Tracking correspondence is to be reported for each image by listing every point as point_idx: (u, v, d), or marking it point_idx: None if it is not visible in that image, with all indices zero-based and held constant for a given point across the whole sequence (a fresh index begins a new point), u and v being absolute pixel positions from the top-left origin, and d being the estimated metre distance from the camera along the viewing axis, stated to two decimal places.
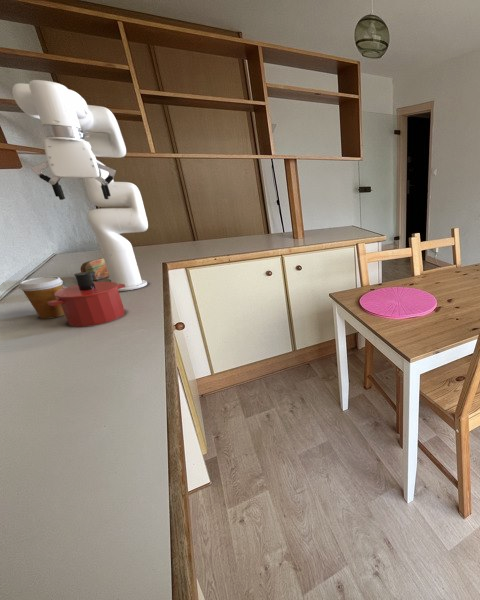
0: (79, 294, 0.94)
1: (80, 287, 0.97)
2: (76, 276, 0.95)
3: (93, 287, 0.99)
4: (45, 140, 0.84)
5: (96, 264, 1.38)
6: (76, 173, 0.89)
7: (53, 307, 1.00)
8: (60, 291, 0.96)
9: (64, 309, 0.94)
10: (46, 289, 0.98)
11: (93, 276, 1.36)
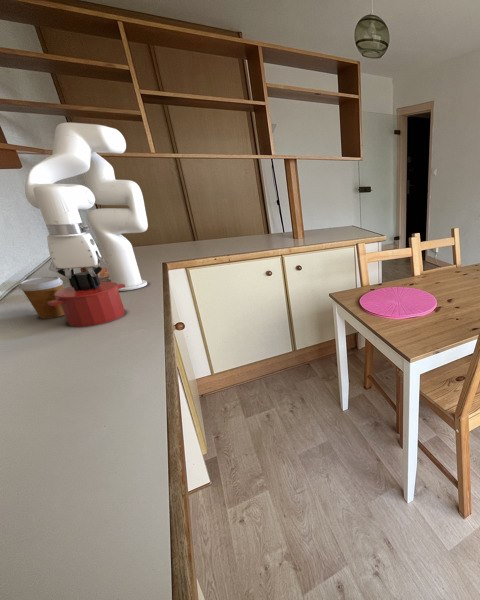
0: (79, 294, 0.94)
1: (80, 287, 0.97)
2: (76, 276, 0.95)
3: None
4: (48, 238, 0.89)
5: None
6: (76, 264, 0.94)
7: (53, 307, 1.00)
8: (60, 291, 0.96)
9: (64, 309, 0.94)
10: (46, 289, 0.98)
11: None
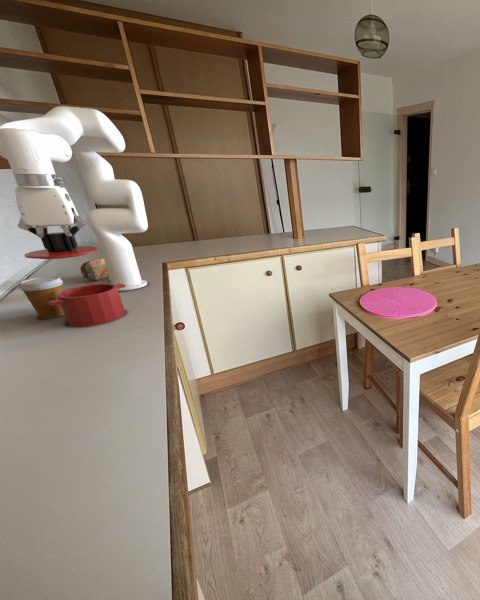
0: (52, 255, 0.84)
1: (54, 248, 0.87)
2: (49, 235, 0.85)
3: None
4: (16, 189, 0.80)
5: (96, 264, 1.38)
6: (48, 222, 0.84)
7: (53, 307, 1.00)
8: (31, 252, 0.86)
9: (64, 309, 0.94)
10: (46, 289, 0.98)
11: (93, 276, 1.36)
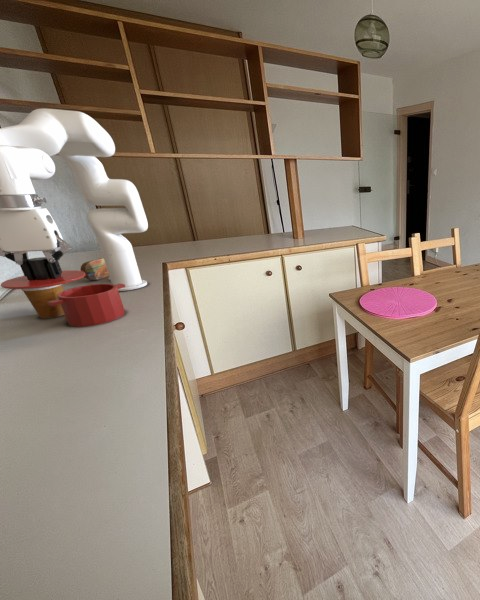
0: (32, 284, 0.75)
1: (35, 276, 0.77)
2: (29, 262, 0.76)
3: None
4: None
5: (96, 264, 1.38)
6: (28, 247, 0.75)
7: (53, 307, 1.00)
8: (9, 281, 0.77)
9: (64, 309, 0.94)
10: (46, 289, 0.98)
11: (93, 276, 1.36)
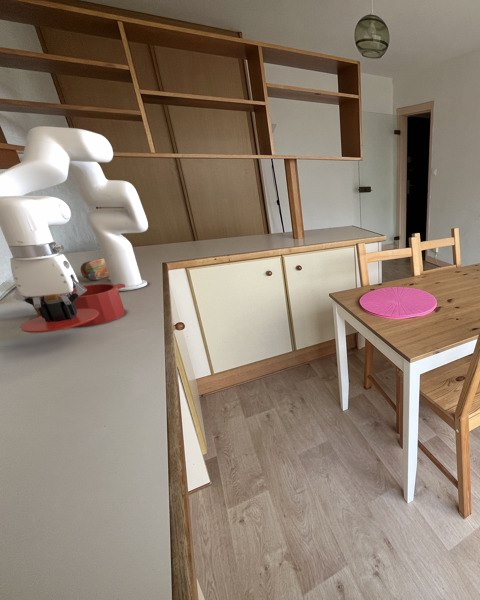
0: (50, 327, 0.79)
1: (52, 317, 0.81)
2: (47, 305, 0.80)
3: None
4: (11, 261, 0.74)
5: (96, 264, 1.38)
6: (46, 292, 0.79)
7: None
8: (28, 323, 0.81)
9: None
10: None
11: (93, 276, 1.36)
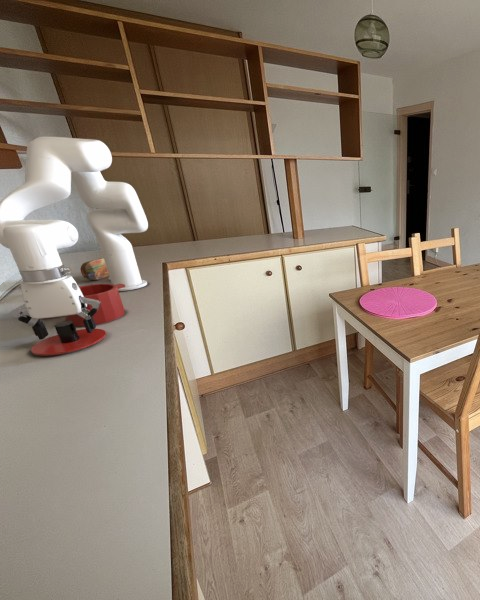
0: (60, 349, 0.81)
1: (61, 339, 0.84)
2: (56, 328, 0.83)
3: (77, 338, 0.86)
4: (21, 285, 0.77)
5: (96, 264, 1.38)
6: (55, 313, 0.81)
7: None
8: (38, 345, 0.83)
9: None
10: None
11: (93, 276, 1.36)
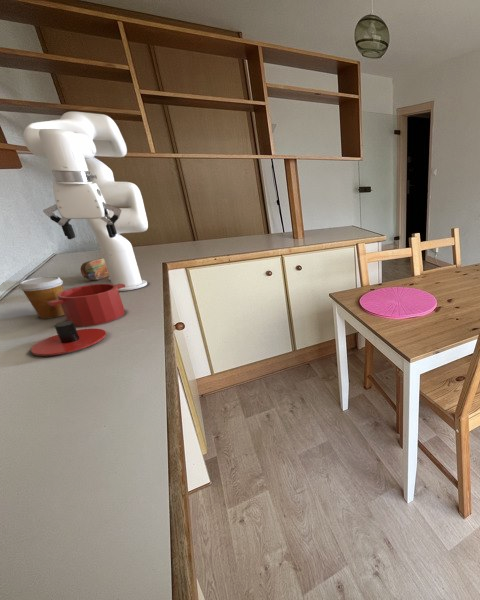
0: (60, 349, 0.81)
1: (61, 339, 0.84)
2: (56, 328, 0.83)
3: (77, 338, 0.86)
4: (53, 185, 0.87)
5: (96, 264, 1.38)
6: (82, 215, 0.91)
7: (53, 307, 1.00)
8: (38, 345, 0.83)
9: (64, 309, 0.94)
10: (46, 289, 0.98)
11: (93, 276, 1.36)
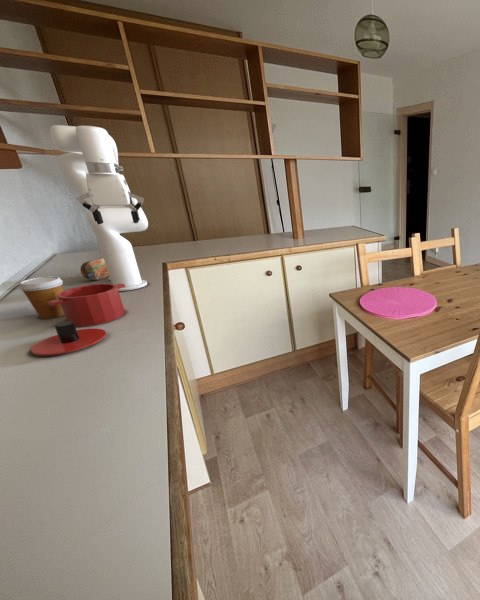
0: (60, 349, 0.81)
1: (61, 339, 0.84)
2: (56, 328, 0.83)
3: (77, 338, 0.86)
4: (87, 175, 0.99)
5: (96, 264, 1.38)
6: (111, 202, 1.03)
7: (53, 307, 1.00)
8: (38, 345, 0.83)
9: (64, 309, 0.94)
10: (46, 289, 0.98)
11: (93, 276, 1.36)
